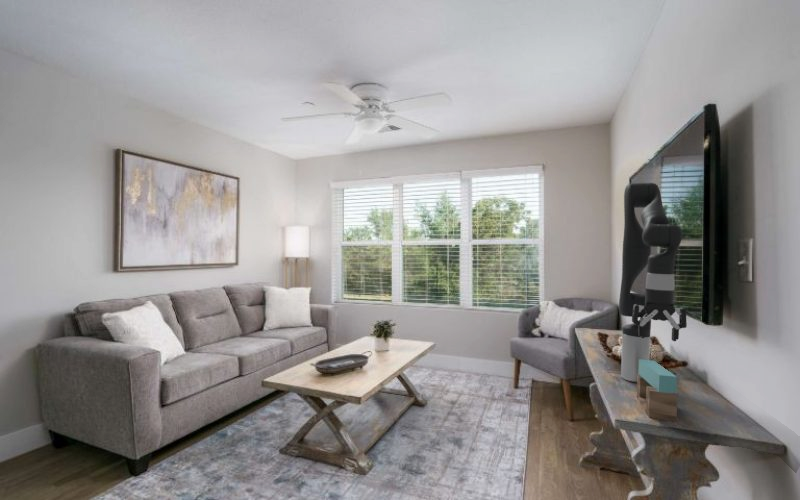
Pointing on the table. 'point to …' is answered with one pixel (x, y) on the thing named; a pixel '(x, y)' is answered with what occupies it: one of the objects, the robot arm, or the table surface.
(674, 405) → the wooden block pair
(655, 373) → the glasses case
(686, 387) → the table surface
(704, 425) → the table surface
